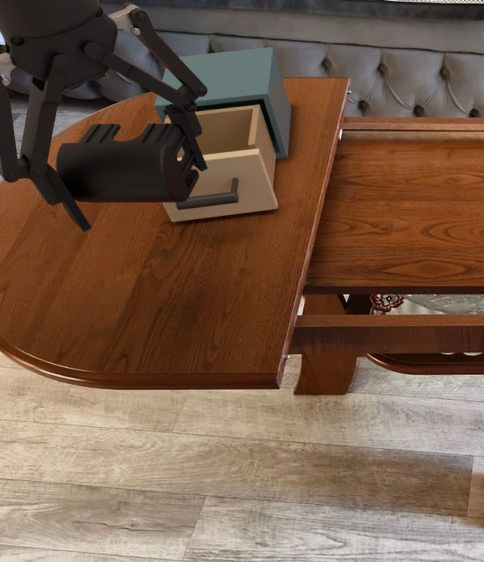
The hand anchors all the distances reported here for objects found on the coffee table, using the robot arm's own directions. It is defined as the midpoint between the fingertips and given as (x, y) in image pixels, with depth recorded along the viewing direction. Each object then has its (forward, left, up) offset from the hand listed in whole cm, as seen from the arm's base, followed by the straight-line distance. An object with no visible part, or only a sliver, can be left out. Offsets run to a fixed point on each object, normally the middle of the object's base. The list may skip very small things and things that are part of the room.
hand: (142, 193), depth 67 cm
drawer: (+12, +13, -15) cm, 23 cm away
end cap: (0, 0, -1) cm, 1 cm away
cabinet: (+21, +25, -16) cm, 36 cm away
